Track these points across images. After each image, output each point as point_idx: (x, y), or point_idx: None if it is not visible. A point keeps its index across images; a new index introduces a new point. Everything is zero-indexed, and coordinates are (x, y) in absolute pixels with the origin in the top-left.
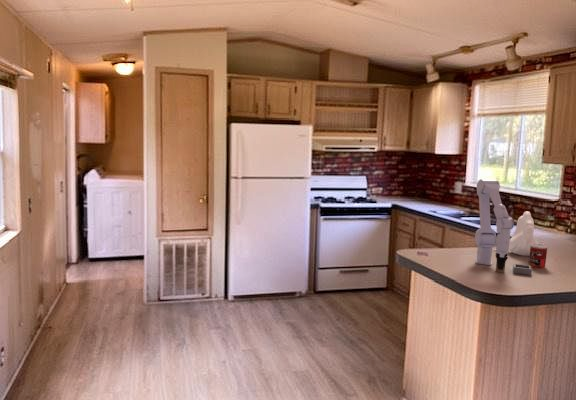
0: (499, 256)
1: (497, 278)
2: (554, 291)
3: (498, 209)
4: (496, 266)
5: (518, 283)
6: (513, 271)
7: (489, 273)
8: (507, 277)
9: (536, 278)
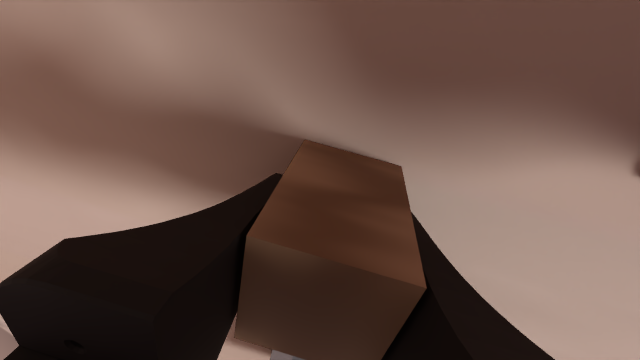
0: (19, 334)
1: (16, 76)
2: (5, 325)
3: None
4: (287, 172)
5: (4, 212)
6: None
7: (180, 28)
8: (126, 189)
9: (220, 355)
